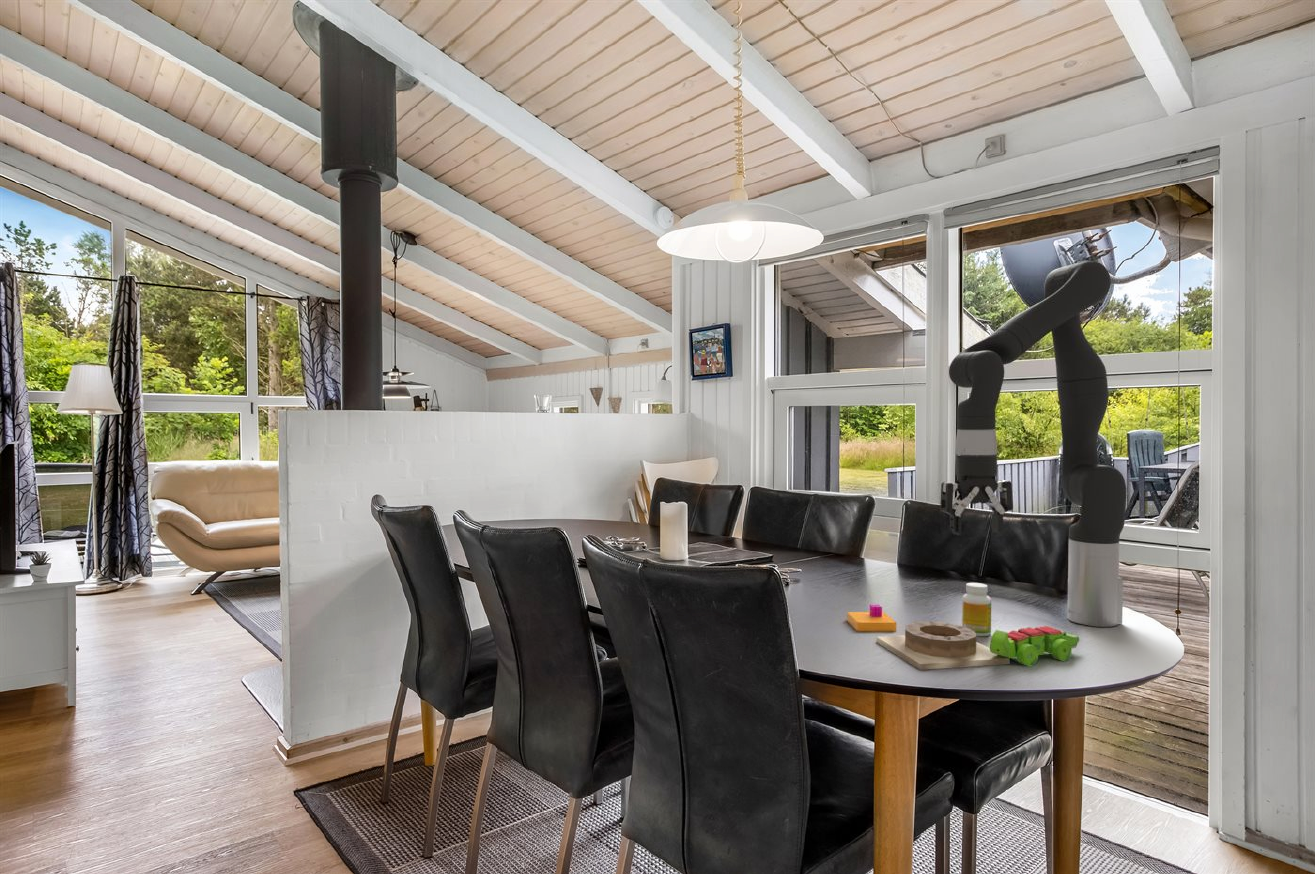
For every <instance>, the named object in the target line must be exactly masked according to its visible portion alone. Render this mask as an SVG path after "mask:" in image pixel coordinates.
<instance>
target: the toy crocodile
mask: <svg viewBox="0 0 1315 874" xmlns="http://www.w3.org/2000/svg"><path fill="white" fill-rule="evenodd" d="M1079 642H1080V638H1079V636H1077V635H1074V634H1070V633H1067V632H1066V631H1063V630H1060V629H1057V628H1054V627H1050V626H1047V625H1045V626H1037V627H1035V628H1032V627H1026V628H1020V629H1018V630H1017V631H1016V630H1010V631H1009V632H1007V631H1004V630H1000V629H999V630H998V629H996V630H995V631H994V632H993V633H992V635H991V639H990V642H989V648H990V651H991V652H992V653H994V654H998V655H1001V656H1005V657H1008V658H1010V659H1015V658H1016V660H1017V661H1018V662H1019V664H1021V665H1023V666H1026V667H1032V666H1034V665H1036V663H1037V661H1038V658H1039V656H1040V655H1041V656H1043V655H1046V653H1047V654H1051V656H1052V658H1053V659H1055V660H1057V661H1061V662H1066V661H1067V660H1069V658H1070V657H1071V654H1072V649H1076V648H1077V646H1078V643H1079Z"/></svg>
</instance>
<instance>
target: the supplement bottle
mask: <svg viewBox="0 0 1315 874" xmlns="http://www.w3.org/2000/svg"><path fill="white" fill-rule="evenodd" d="M988 589H989V587H988V585H987V584H985V583H980V582H968V583H967V582H966V584H965V590H966V593H965V594H963V595H962V597H961V598H962V599H961V626H964V627H966V628H969V629H971V630H973V631H975V634H976V637H987V636H990V635H991V634H992V598H991V597H990V596H989V595H987V594H988V591H989V590H988Z"/></svg>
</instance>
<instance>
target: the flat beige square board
mask: <svg viewBox="0 0 1315 874" xmlns="http://www.w3.org/2000/svg"><path fill="white" fill-rule="evenodd" d="M875 639H876V640H875V641H876V643H877V644H879V645H881V646H883V647H884V648H885V649H887V650H889V651H890V652H892V653H894V655H897V657H899V658H901V659H902V660H904V661H906V662H908V664H911V666H913V667H915V668H917V669H919V670H920V671H922V670H936V669H938V670H939V669H948V668H949V669H952V668H968V667H981V666H998V665H1010V659H1011V658H1008V657H1005V656H1001V655H998V654H994V653H992V652H991V651H990V647H988V646H987V645H986V646H985V645H984V644H982V643H980V642H978V641H976V653H975V654H973V655H970V656H968V657H957V658H946V657H936V656H929V655H925V654H922V653H918V652H914V651H913V650H911V649H909V648H908V647H906V646H905V634H902V635H901V634H900V635H887V636H886V635H882V636H876V638H875Z"/></svg>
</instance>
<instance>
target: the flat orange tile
mask: <svg viewBox="0 0 1315 874" xmlns="http://www.w3.org/2000/svg"><path fill="white" fill-rule="evenodd" d="M846 621H847V622H848V624H850V625H851V627H853V629H854V630H855V631H857V632H897V621H895V619H893V618H892V617H891V616H889V615H888V614H887V613H886V612H884V611H883V607H882V605H880V604H869V611H847V612H846Z"/></svg>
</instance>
